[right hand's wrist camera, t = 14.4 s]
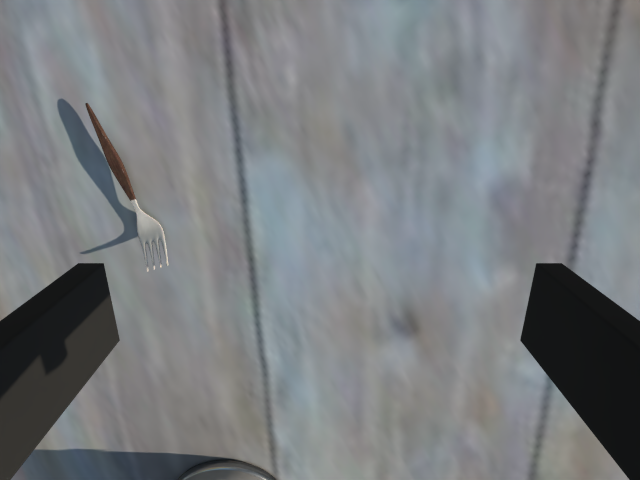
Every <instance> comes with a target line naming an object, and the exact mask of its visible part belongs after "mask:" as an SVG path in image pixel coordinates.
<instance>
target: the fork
mask: <svg viewBox="0 0 640 480" xmlns="http://www.w3.org/2000/svg"><path fill="white" fill-rule="evenodd" d="M86 107H87V110H88V113H89V116H90V118H91V121H92V123H93V126H94V128H95V131H96V133H97V136H98V138H99V141H100V144H101V146H102V149H103V151H104V154H105V157H106V159H107V162H108V164H109V166H110V168H111V170H112V172H113V173H114V175H115V177H116V178H117V180H118V182H119V183H120V185H121V186H122V188H123V190H124V191H125V193H126V194H127V196H128V198H129V199H130V201H131V202H132V204H133V206H134V208H135V210H136V215H137V232H138V236H139V240H140V242H141V246H142V249H143V254H144V258H145V263H146V268H147V272H148V262H147V253H146V243H147V244H148V246H149V249H150V254H151V258H152V263H153V268H154V270H155V264H154V255H153V247H152V242H153V241H154V242H155V245H156V249H157V254H158V258H159V263H160V267H161V256H160V248H159V239H160V240H161V242H162V245H163V249H164V254H165V258H166V263H167V266H168V258H167V250H166V243H165V237H164V232H163V229H162V227H161V225H160V224H159V223H158V222H157V221H156V220H155V219H153V218H152V217H150V216H149V215H147V214H146V213H144V212H143V211H142V210H141V209H140V208H139V206H138V204H137V201H136V198H135V195H134V192H133V189H132V187H131V184H130V181H129V178H128V175H127V172H126V170H125V167H124V165H123V163H122V161H121V159H120V157H119V156H118V154H117V152H116V150H115V149H114V147H113V146H112V144H111V142H110V141H109V139H108V137H107V135H106V134H105V132H104V130H103V128H102V127H101V125H100V123H99V121H98V119H97V118H96V116H95V114H94V112H93V111H92V109H91V107H90V106H89V104H88V103H86Z"/></svg>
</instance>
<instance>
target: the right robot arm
mask: <svg viewBox="0 0 640 480" xmlns="http://www.w3.org/2000/svg"><path fill="white" fill-rule="evenodd" d="M118 342H119V335H118V330H117V325H116V321H115V316H114V311H113V306H112V301H111V297H110V292H109V287H108V282H107V277H106V273H105V268H104V263H78V264H77V265H76V266H74V267H73V268H71V269H70V270H69V271H67V272H66V273H65V274H63V275H62V276H61V277H59V278H58V279H57V280H55V281H54V282H53V283H51V284H50V285H49V286H47V287H46V288H44V289H43V290H42V291H40V292H39V293H38V294H36V295H35V296H34V297H32V298H31V299H30V300H28V301H27V302H26V303H24V304H23V305H21V306H20V307H19V308H17V309H16V310H15V311H13V312H12V313H11V314H9V315H8V316H7V317H5V318H4V319H3V320H1V321H0V480H10V479H11V478H12V477H13V476H14V474H15V473H16V472H17V471H18V469H19V468H20V467H21V465H22V464H23V463H24V462H25V460H26V459H27V458H28V457H29V455H30V454H31V453H32V451H33V450H34V449H35V448H36V446H37V445H38V444H39V443H40V441H41V440H42V439H43V437H44V436H45V435H46V434H47V432H48V431H49V430H50V428H51V427H52V426H53V425H54V423H55V422H56V421H57V420H58V418H59V417H60V416H61V414H62V413H63V412H64V411H65V409H66V408H67V407H68V406H69V404H70V403H71V402H72V400H73V399H74V398H75V397H76V395H77V394H78V393H79V391H80V390H81V389H82V388H83V386H84V385H85V384H86V383H87V381H88V380H89V379H90V377H91V376H92V375H93V374H94V372H95V371H96V370H97V369H98V367H99V366H100V365H101V363H102V362H103V361H104V360H105V358H106V357H107V356H108V354H109V353H110V352H111V351H112V349H113V348H114V347H115V346H116V344H117V343H118ZM521 342H522V343H523V344H524V346H525V347H526V348H527V349H528V351H529V352H530V353H531V354H532V356H533V357H534V358H535V360H536V361H537V362H538V363H539V365H540V366H541V367H542V369H543V370H544V371H545V372H546V374H547V375H548V376H549V377H550V379H551V380H552V381H553V383H554V384H555V385H556V386H557V388H558V389H559V390H560V391H561V393H562V394H563V395H564V397H565V398H566V399H567V400H568V402H569V403H570V404H571V406H572V407H573V408H574V409H575V411H576V412H577V413H578V414H579V416H580V417H581V418H582V420H583V421H584V422H585V423H586V425H587V426H588V427H589V429H590V430H591V431H592V432H593V434H594V435H595V436H596V437H597V439H598V440H599V441H600V443H601V444H602V445H603V446H604V448H605V449H606V450H607V451H608V453H609V454H610V455H611V457H612V458H613V459H614V460H615V462H616V463H617V464H618V466H619V467H620V468H621V469H622V471H623V472H624V473H625V474H626V476H627V477H628V478H629V480H640V321H639V320H637V319H636V318H635V317H633V316H632V315H631V314H629V313H628V312H627V311H625V310H624V309H623V308H621V307H620V306H619V305H617V304H616V303H614V302H613V301H612V300H610V299H609V298H608V297H606V296H605V295H604V294H602V293H601V292H600V291H598V290H597V289H596V288H594V287H593V286H591V285H590V284H589V283H587V282H586V281H585V280H583V279H582V278H581V277H579V276H578V275H577V274H575V273H574V272H573V271H571V270H570V269H569V268H567V267H566V266H564V265H563V264H562V263H536V268H535V273H534V277H533V282H532V287H531V292H530V297H529V301H528V306H527V311H526V316H525V321H524V325H523V330H522V335H521ZM178 480H276V479H275V478H274V477H273V476H272V475H270V474H269V473H268V472H266V471H264V470H263V469H261V468H259V467H256V466H254V465H251V464H248V463H244V462H239V461H231V460H218V461H211V462H206V463H203V464H200V465H197V466H195V467H193V468H191V469H189V470H188V471H186V472H185V473H184V474H183V475H182V476H181V477H180V478H179V479H178Z"/></svg>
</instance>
